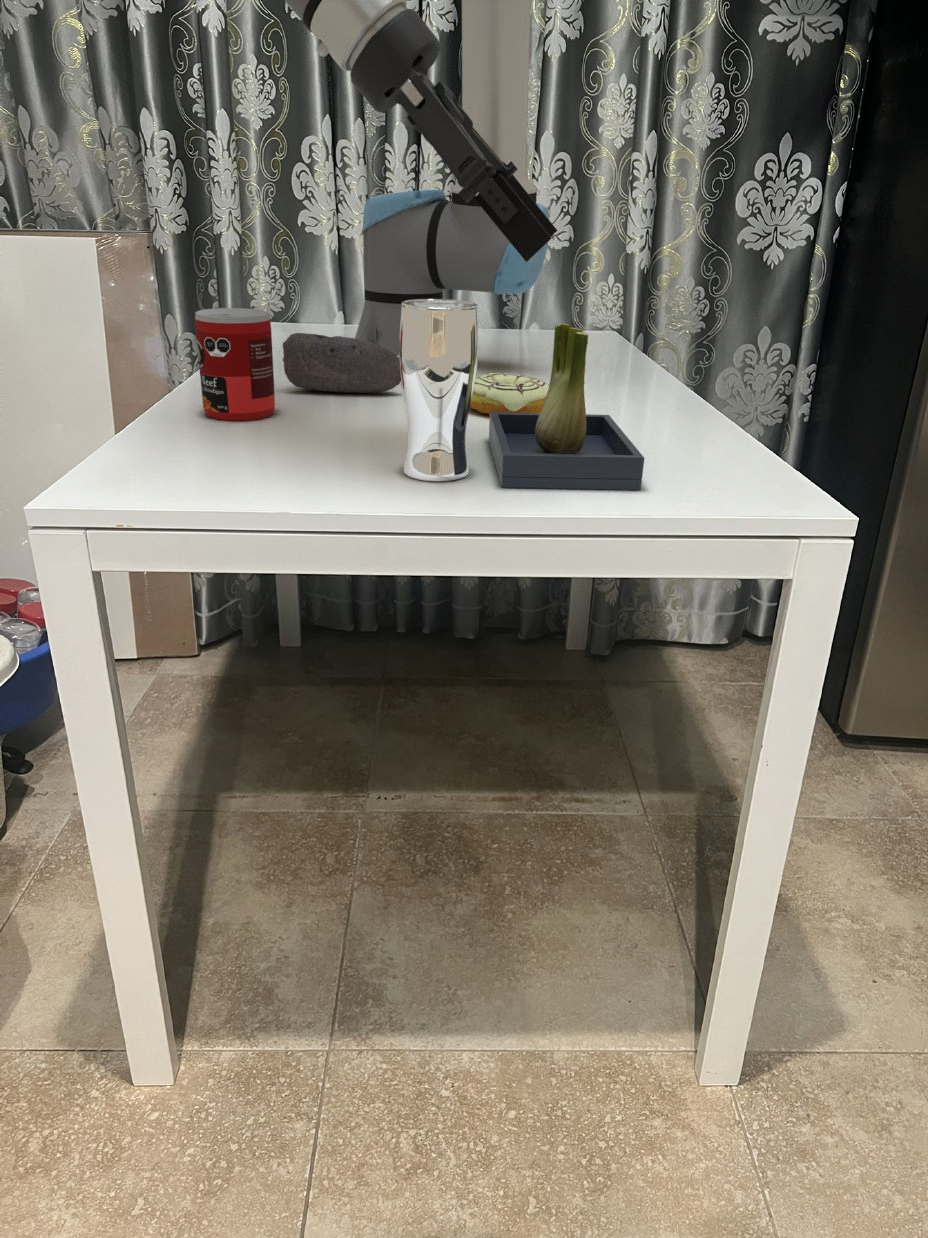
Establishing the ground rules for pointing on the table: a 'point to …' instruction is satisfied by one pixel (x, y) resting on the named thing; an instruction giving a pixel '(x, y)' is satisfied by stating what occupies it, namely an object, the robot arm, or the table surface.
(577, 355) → the fennel bulb
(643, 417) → the table surface
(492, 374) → the decorated donut
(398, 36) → the robot arm
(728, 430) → the table surface
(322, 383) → the perforated stone tool
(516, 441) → the dark grey tray
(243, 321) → the canned food
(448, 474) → the beer glass
